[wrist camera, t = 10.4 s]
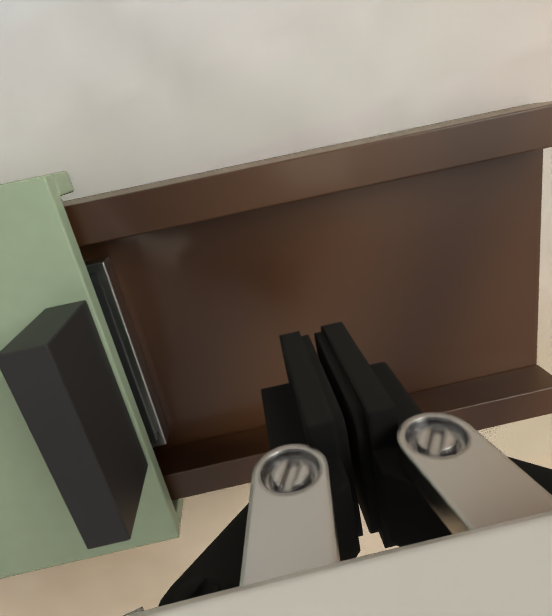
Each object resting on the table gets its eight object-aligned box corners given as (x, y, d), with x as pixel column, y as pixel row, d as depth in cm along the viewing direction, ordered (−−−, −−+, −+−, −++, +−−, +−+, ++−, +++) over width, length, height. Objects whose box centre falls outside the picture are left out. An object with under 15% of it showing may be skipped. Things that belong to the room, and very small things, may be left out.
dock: (-175, 538, 18) (-231, 593, 16) (-368, 291, 14) (-477, 320, 12) (524, 379, 19) (563, 411, 17) (529, 103, 15) (582, 97, 13)
